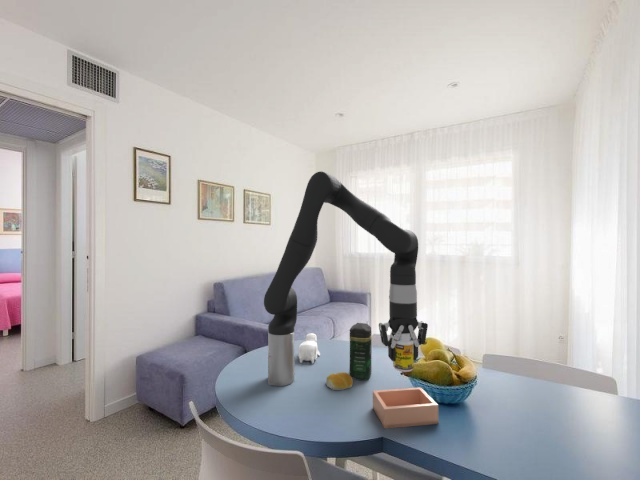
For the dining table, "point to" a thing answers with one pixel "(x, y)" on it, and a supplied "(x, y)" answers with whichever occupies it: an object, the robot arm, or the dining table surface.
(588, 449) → the dining table surface
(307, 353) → the white animal figurine
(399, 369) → the supplement bottle
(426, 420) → the open box
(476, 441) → the dining table surface
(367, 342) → the coffee jar
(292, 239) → the robot arm
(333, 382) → the bread roll
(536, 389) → the dining table surface
